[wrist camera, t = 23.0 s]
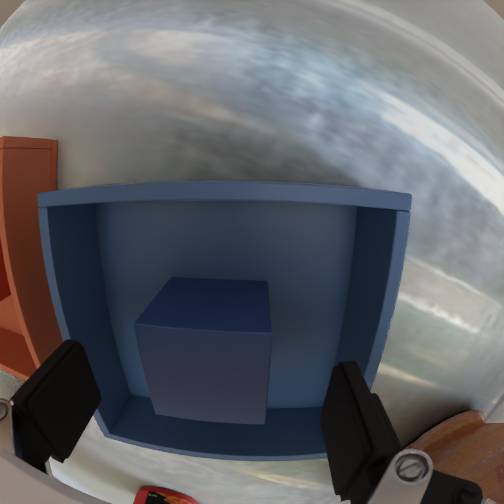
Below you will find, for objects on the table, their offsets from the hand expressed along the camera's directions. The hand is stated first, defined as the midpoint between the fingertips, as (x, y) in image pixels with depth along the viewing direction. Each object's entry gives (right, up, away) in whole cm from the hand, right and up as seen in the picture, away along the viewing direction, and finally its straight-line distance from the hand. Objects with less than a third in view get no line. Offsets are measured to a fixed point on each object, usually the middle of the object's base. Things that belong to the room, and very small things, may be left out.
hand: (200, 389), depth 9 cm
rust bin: (-17, +5, +5) cm, 18 cm away
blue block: (0, +1, +5) cm, 5 cm away
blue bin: (0, +1, +6) cm, 6 cm away
